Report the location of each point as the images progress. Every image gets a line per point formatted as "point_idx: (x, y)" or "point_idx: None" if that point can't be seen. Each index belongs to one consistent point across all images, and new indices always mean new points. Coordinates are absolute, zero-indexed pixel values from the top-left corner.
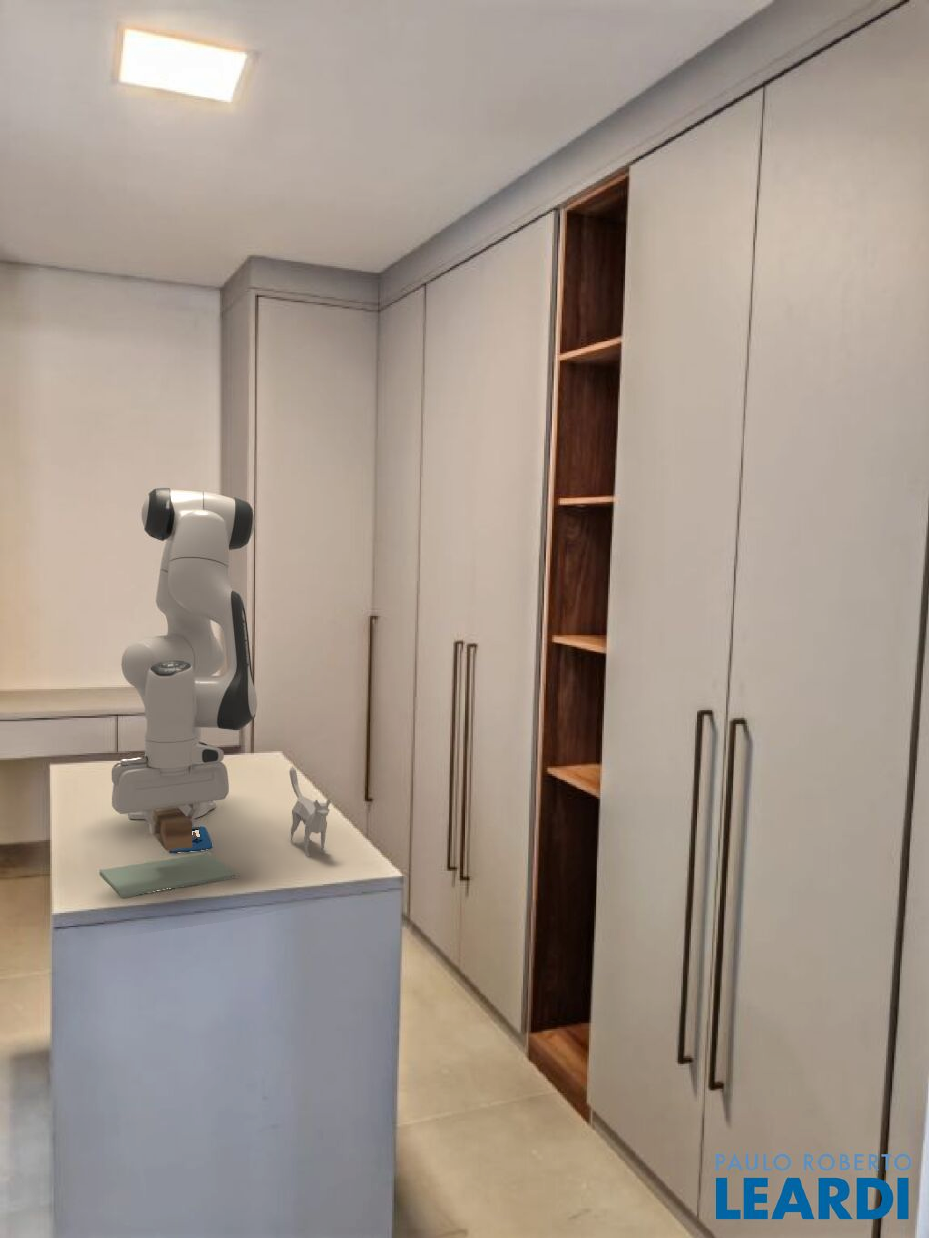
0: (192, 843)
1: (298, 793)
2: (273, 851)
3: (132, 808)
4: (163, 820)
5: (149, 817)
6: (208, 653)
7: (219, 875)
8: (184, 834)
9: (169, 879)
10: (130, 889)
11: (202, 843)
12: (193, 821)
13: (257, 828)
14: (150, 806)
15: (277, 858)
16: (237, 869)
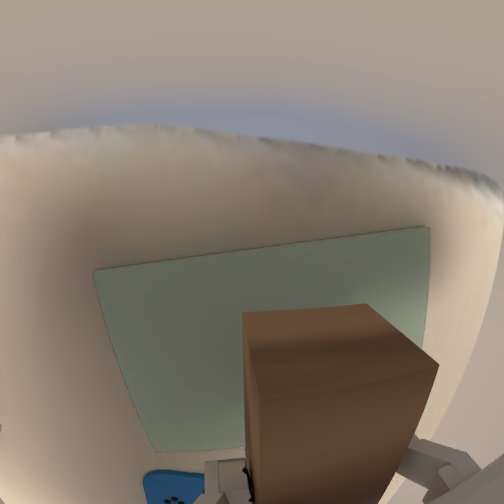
0: (184, 497)
1: None
2: (19, 403)
3: None
4: (399, 449)
5: (451, 455)
6: None
7: (141, 281)
8: (300, 344)
9: (297, 302)
10: (408, 257)
11: (164, 492)
12: (209, 481)
13: (68, 500)
14: (493, 478)
15: (7, 361)
16: (87, 334)
